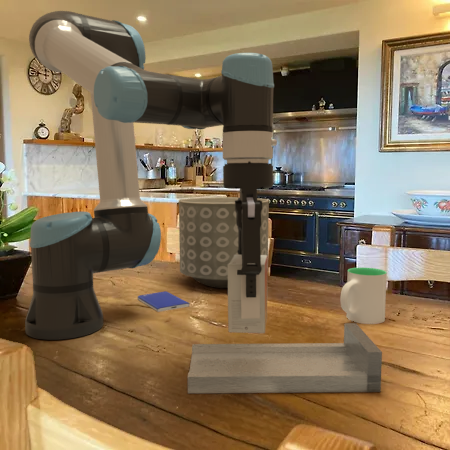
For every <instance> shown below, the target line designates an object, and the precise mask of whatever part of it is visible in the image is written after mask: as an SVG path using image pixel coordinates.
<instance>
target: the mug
mask: <svg viewBox="0 0 450 450" xmlns="http://www.w3.org/2000/svg"><path fill="white" fill-rule="evenodd" d="M346 281H347V282H346V283H344V285H343V286H342V288H341V292H340V298H339V299H340V307H341V309H342V311H344V312H345V313H346V317H347V318H348V319H347V318H346V319H347V320H349V321H350V320H351V321H350V322H353V321H354V322H353V323H356V324H364V325H375V324H376V325H377V324H381V323H384V322H385V320H386V300H387V298H386V297H387V295H386V294H387V271H386V270H383V269H379V268H373V267H352V268H348V269H347V280H346Z"/></svg>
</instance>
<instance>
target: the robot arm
mask: <svg viewBox="0 0 450 450" xmlns="http://www.w3.org/2000/svg"><path fill="white" fill-rule="evenodd" d="M28 43H29V48H30V50H31V52H32V54H33V56H34V58H35V59H36V60H37V61H38V62H39V63H40V64H41V65H42V66H44V67H45V68H46V69H48V70H50V71H52V72H55V73H63V74H64V75H66V76H67V77H68V78H70V80H72V81H73V82H75V83H77V85H79V86H81V87H82V88H83V89H84V90H86V91H87V92H89V93H90V101H91V113H92V124H93V125H92V126H93V134H94V146H95V157H96V167H97V181H98V182H97V183H98V191H99V192H98V193H99V203H98V204H97V205H96V206H95V208H94V209H93V216H92V214H91V213H90V212H89V211H72V212H62V213H57V214H51V215H46V216H44V217H40V218H39V219H37V220H35V221H34V222H32V225H31V227H30V241H29V247H30V253H31V254H30V255H31V256H30V257H31V274H32V292H33V293H32V296H31V300H30V303H29V307H28V311H27V314H26V317H25V334H26V335H27V336H29V337H31V338H33V339H37V340H38V339H39V340H44V341H45V340H47V341H49V340H51V341H53V340H54V341H56V340H57V341H58V340H69V339H75V338H81V337H84V336H87V335H90V334H93V333H95V332H97V331H99V330H101V329H102V328H103V326H104V315H103V314H104V312H103V310H102V307H101V305H100V302H99V300H98V297H97V295H96V292H95V289H94V274H96V273H97V274H98V273H104V272H111V271H117V270H124V269H136V268H138V267H143V266H146V265H149V264H150V263H152V262H153V261H154V260H155V257H156V255H157V254H158V253H159V250H160V246H161V241H162V232H161V231H162V230H161V225H160V223H159V222H158V219H157V217H156V216H155V215H153V214H151V213H149V207H148V204H146V203H145V202H144V201H143V200H142V199H141V196H140V195H141V194H140V184H139V175H138V174H139V172H138V162H137V161H138V160H137V147H136V138H135V126H134V124H135V123H136V124H137V123H138V124H150V125H151V124H152V125H167V126H178V127H180V126H181V127H183V128H184V129H187V130H199V131H200V130H205V129H206V128H213V127H220V126H222V159H223V161H226V163H224V165H223V166H222V175H223V176H222V177H223V178H222V179H223V180H222V181H223V182H222V183H223V187H224V188H225V189H229V190H230V189H233V190H237V189H239V197H237V198H238V200H235V212H236V223H237V226H238V255H242V269H241V270H237V275H241V319H250V318H260V273H261V270H262V267H261V250H260V228H261V212H262V201H260V200H257V198H258V190H259V189H270V188H272V187H273V185H274V165H273V163H269V162H270V160H272V159H273V157H274V155H273V154H274V152H273V150H274V148H273V147H276V146H277V144H278V141H277V139H276V138H275V139H273V136H274V135H273V133H274V123H273V122H274V88H275V83H274V69H273V62H272V60H271V58H270V57H269V56H268V55H265V54H263V53H258V52H238V53H232V54H229V55H227V56H226V57H225V58H224V59H223V60H222V66H221V71H220V72H221V75H219V76H217V77H211V78H205V79H201V78H194V77H187V76H182V75H181V76H180V75H176V74H175V75H174V74H169V73H168V74H167V73H161V72H155V71H150V70H146V69H145V66H144V64H145V63H146V57H147V56H146V49H145V44H144V43H145V42H144V41H143V38H142V36H141V34H140V32H139V31H138V30H137V29H135V27H133V26H132V25H130V24H127V23H122V22H121V21H119V20H114V19H113V20H111V19H105V18H102V17H101V18H100V17H97V16H96V17H95V16H91V15H86V14H83V13H78V12H74V11H71V10H70V11H68V10H55V11H51V12H47V13H45V14H43V15H42V16H39V18H38V19H36V20H35V22H34V23H33V24H32V26H31V28H30V30H29V34H28ZM248 263H254V264H248Z"/></svg>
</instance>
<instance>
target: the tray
mask: <svg viewBox="0 0 450 450" xmlns="http://www.w3.org/2000/svg"><path fill="white" fill-rule="evenodd" d="M343 325H344V329H343V343H342V342H339V343H338V342H337V343H336V342H334V343H332V342H331V343H330V342H328V343H325V342H324V343H323V342H321V343H320V342H319V343H318V342H317V343H314V342H313V343H309V342H308V343H307V342H306V343H303V342H302V343H297V342H296V343H194V344H193V343H192V346H191V358H190V364H189V365H190V367H189V372H188V373H187V394H258V393H259V394H262V393H263V394H271V393H272V394H275V393H276V394H278V393H282V394H284V393H285V394H288V393H289V394H290V393H292V394H293V393H303V394H304V393H381V390H382V363H383V362H382V359H383V355H382V354H383V352H382V350H381V349H380V348H379V347H378V345H376V344H375V343H374V341H373V340H372V339H371V338H370V337H369V336H368V335H367V334H366V333H365V332H364V330H363V329H362V328H361V327H360V326H359V325H358V323H357V322H353V323H350V322H349V323H344V324H343Z"/></svg>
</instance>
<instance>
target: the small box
mask: <svg viewBox="0 0 450 450" xmlns="http://www.w3.org/2000/svg"><path fill="white" fill-rule="evenodd" d="M248 264H254V263H248ZM261 267H262V270H261V273H260V318H250V319H241V275H237V270H241V269H242V255H234V256H233V258H232V260H231V261H230V263H229V264H228V288H227V320H228V321H227V324H228V328H227V329H228V332H229V333H238V334H239V333H240V334H241V333H242V334H243V333H244V334H246V333H247V334H266V325H267V321H268V273H269V272H268V271H269V255H268V256H267V255H261Z"/></svg>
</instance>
